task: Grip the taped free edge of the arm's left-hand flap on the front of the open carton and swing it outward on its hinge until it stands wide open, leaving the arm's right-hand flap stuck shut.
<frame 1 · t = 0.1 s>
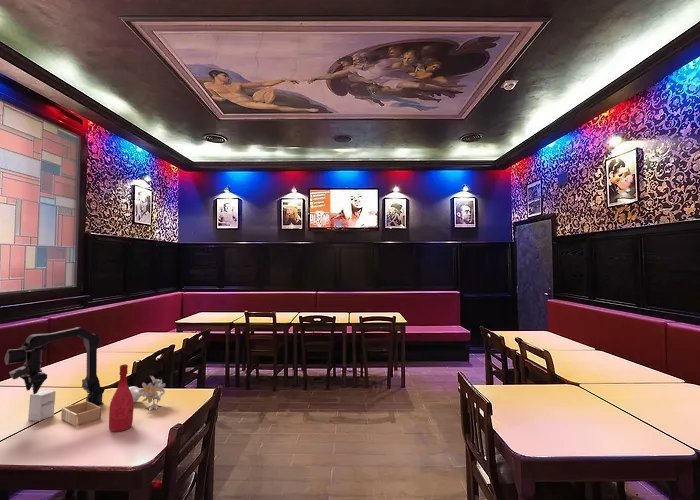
hand: (31, 392, 175), 15 cm above the table, fingers open, 9 cm apart
flower vase: (142, 406, 198), on the table
carton: (82, 418, 180), on the table
supplement box: (41, 418, 180), on the table
flap 1: (65, 414, 177), point 3 cm above the table, hinge at 0.0°
wine bottle: (120, 428, 169), on the table
flap 2: (72, 418, 173), point 3 cm above the table, hinge at 0.0°
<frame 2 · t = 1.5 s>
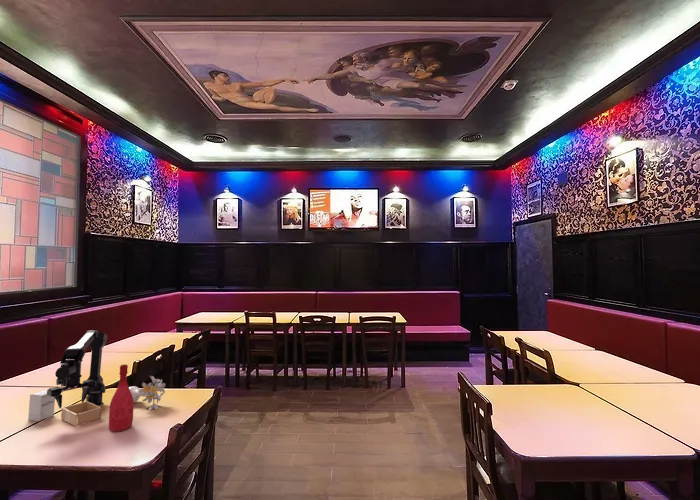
hand: (71, 405, 175), 9 cm above the table, fingers open, 9 cm apart
nothing on the table moved.
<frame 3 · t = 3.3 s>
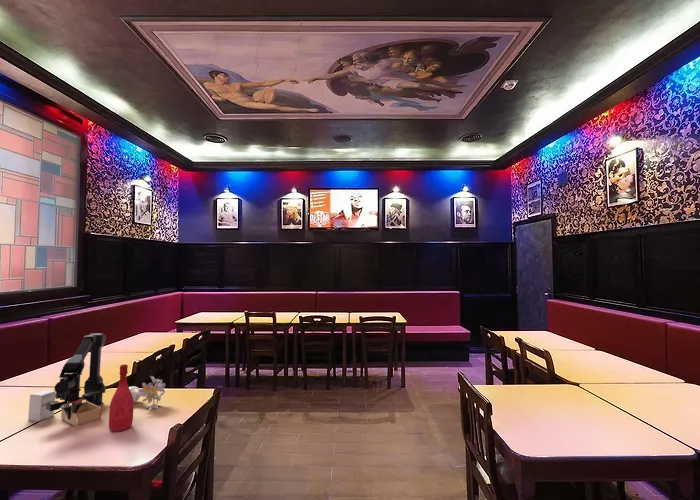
hand: (70, 419, 174), 2 cm above the table, fingers closed, pressing on flap 2
flap 2: (72, 418, 173), point 3 cm above the table, hinge at 0.0°, touching gripper
everything else where it was.
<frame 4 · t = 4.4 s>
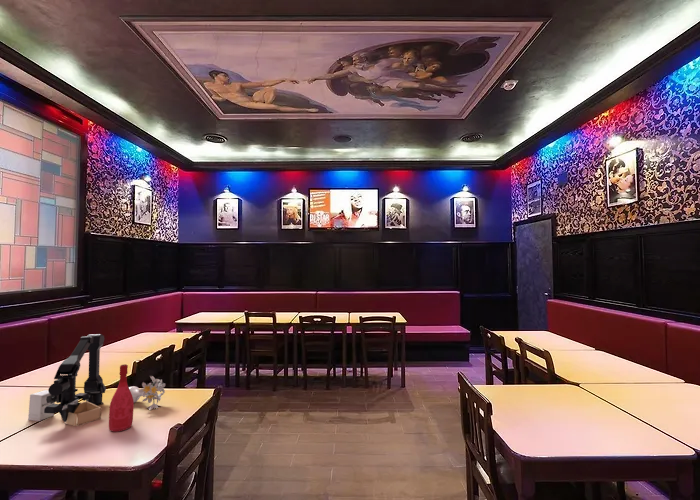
hand: (67, 420, 172), 2 cm above the table, fingers closed
flap 2: (70, 418, 172), point 3 cm above the table, hinge at 10.4°, touching gripper
everything else where it was.
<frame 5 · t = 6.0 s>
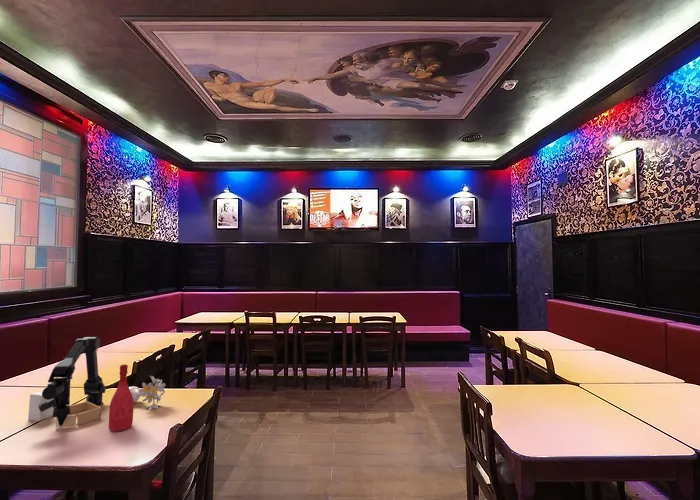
hand: (60, 424, 168), 2 cm above the table, fingers closed
flap 2: (65, 421, 169), point 3 cm above the table, hinge at 55.3°, touching gripper
everything else where it was.
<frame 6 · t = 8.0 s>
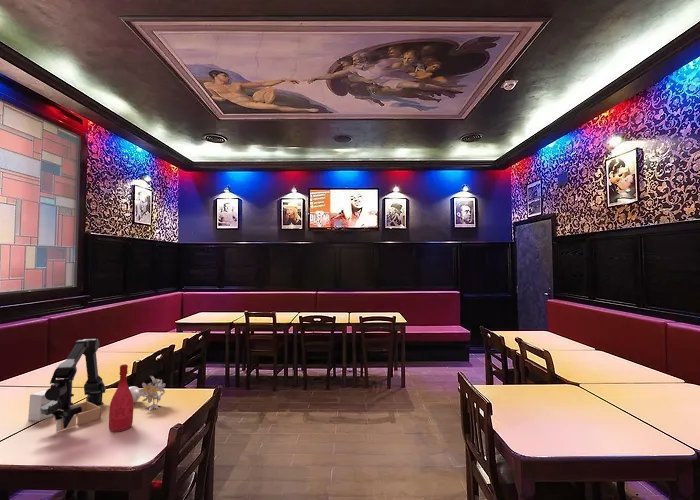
hand: (61, 427, 165), 2 cm above the table, fingers open, 4 cm apart
flap 2: (66, 423, 167), point 3 cm above the table, hinge at 90.6°
everything else where it was.
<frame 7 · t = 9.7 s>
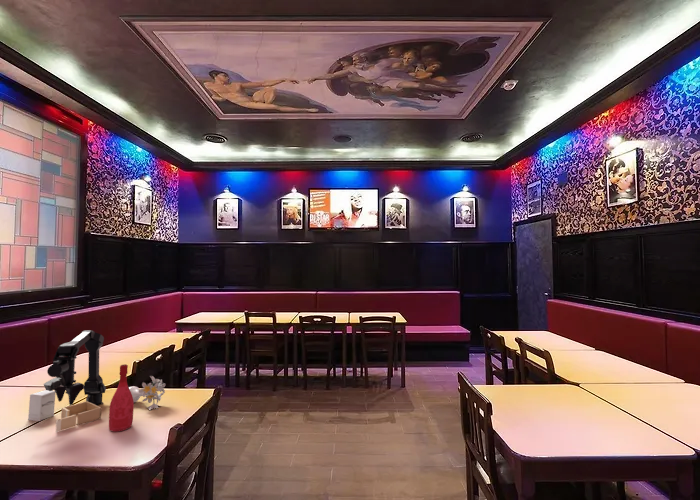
hand: (65, 403, 171), 11 cm above the table, fingers open, 9 cm apart
nothing on the table moved.
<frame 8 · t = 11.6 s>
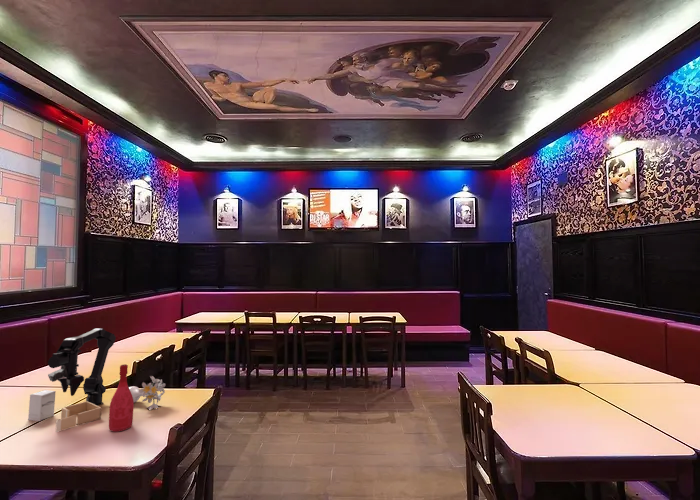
hand: (68, 393, 181), 12 cm above the table, fingers open, 9 cm apart
nothing on the table moved.
at the end: flap 2 at +91° (first picture: +0°); the gripper is holding nothing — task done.
